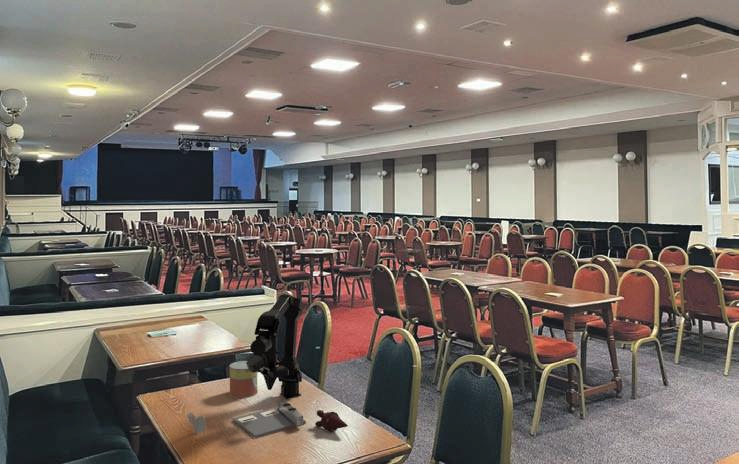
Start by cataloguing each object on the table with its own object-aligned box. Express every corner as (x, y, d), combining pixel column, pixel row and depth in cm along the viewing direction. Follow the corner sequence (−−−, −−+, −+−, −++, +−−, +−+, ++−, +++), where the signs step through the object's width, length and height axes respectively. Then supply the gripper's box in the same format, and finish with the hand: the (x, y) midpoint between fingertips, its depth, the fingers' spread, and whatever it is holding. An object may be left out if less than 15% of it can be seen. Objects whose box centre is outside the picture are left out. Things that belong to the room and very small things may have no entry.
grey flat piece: (202, 428, 195) (202, 406, 195) (206, 430, 195) (205, 407, 194) (186, 436, 189) (186, 413, 189) (190, 437, 188) (190, 414, 188)
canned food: (254, 398, 225) (254, 369, 224) (226, 398, 225) (226, 368, 224) (260, 388, 236) (260, 360, 236) (233, 388, 236) (233, 360, 236)
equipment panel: (281, 408, 214) (281, 405, 214) (305, 423, 200) (305, 420, 200) (232, 421, 202) (232, 417, 202) (255, 438, 188) (255, 434, 188)
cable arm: (276, 408, 210) (276, 399, 210) (283, 406, 212) (283, 398, 212) (296, 425, 195) (295, 416, 194) (303, 423, 196) (303, 414, 196)
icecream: (355, 414, 193) (324, 407, 202) (341, 415, 187) (310, 408, 197) (353, 435, 191) (322, 427, 201) (338, 437, 186) (307, 428, 196)
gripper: (237, 346, 208) (238, 387, 209) (261, 357, 193) (261, 402, 194) (264, 341, 215) (265, 381, 216) (289, 352, 200) (289, 395, 201)
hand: (269, 389), depth 206 cm, fingers closed
